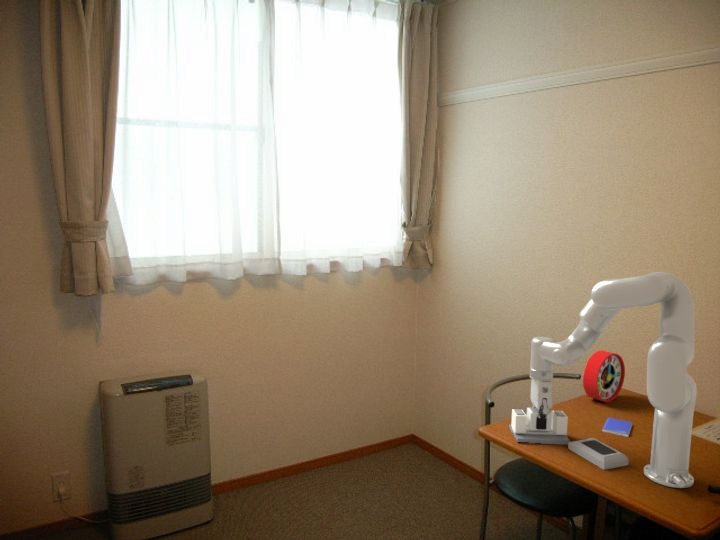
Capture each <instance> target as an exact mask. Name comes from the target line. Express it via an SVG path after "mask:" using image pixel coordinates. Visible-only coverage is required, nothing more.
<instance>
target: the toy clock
mask: <svg viewBox="0 0 720 540" xmlns="http://www.w3.org/2000/svg"><path fill="white" fill-rule="evenodd" d="M625 366H626V365H625V361H624V360H623V358H622V356H621V355H620V354H618V353H614V352H612V351H611V352H610V351H606V350H602V349H600V350H596V351H595V352H593V353H592V355H590V357H589V358H588V360H587V362H586V363H585V367H584V370H583V374H582V387H583V389H584V392H585V394H586V396H587V397H589V398H591V399H593V400H597V401H600V402H604V403H610V402H612V401H613V400H615V399H616V398H617V396H618V395H619V394H620V392H621V390H622V389H623V385H624V381H625V377H626V376H625V375H626V367H625Z"/></svg>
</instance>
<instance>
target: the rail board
mask: <svg viewBox="0 0 720 540" xmlns="http://www.w3.org/2000/svg"><path fill="white" fill-rule="evenodd" d="M551 413H552V426H551V431H538V430H530V429H529V428H528V426H527V425H526V421H527V413H525V412H524V410H523V409H517V408H516V409H513V408H512V409H511V423H509V425H508V428H510V429H509V430H511V431H510V432H511V434H512V433H513V434H512V436H513V435H514V436H513V438H514V437H515V438H516V440H517V441H519V442H529V443H528V444H535V443H541V444H542V445H543V444H544V445H546V444H547V445H564V446H565V445H566V446H568V443H569V442H571V440H570V438H569V437H568V436H567V434H568V422H569V420H568V419H569V418H568V415H567V414H565V413H564V411H563V410H551ZM515 438H514V439H515ZM516 440H515V441H516ZM541 444H540V445H541Z"/></svg>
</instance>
